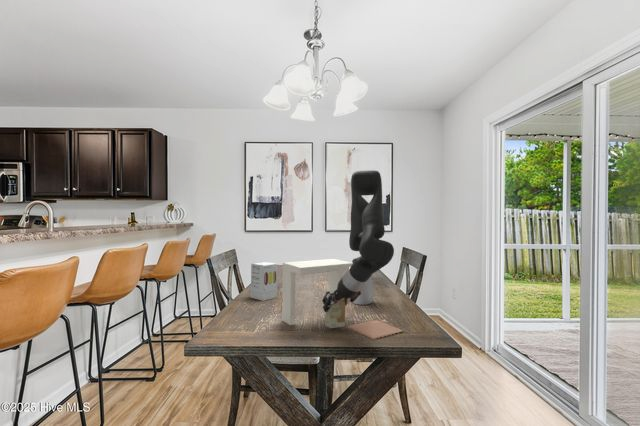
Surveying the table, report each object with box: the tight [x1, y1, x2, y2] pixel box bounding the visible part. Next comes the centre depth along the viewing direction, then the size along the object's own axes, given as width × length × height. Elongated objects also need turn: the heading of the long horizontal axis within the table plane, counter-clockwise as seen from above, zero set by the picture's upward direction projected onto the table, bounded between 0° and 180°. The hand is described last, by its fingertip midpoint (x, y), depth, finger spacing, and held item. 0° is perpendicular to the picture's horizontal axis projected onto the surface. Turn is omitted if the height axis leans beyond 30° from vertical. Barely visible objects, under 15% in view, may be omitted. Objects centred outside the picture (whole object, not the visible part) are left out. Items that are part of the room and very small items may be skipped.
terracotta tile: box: [347, 319, 404, 340], centre depth 125 cm, size 14×14×1 cm
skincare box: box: [324, 290, 346, 329], centre depth 125 cm, size 6×4×12 cm
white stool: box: [281, 258, 353, 326], centre depth 135 cm, size 24×14×22 cm, turn 123°
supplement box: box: [250, 261, 278, 302], centre depth 170 cm, size 10×9×17 cm
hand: (332, 308), depth 126 cm, fingers closed on skincare box, 6 cm apart
